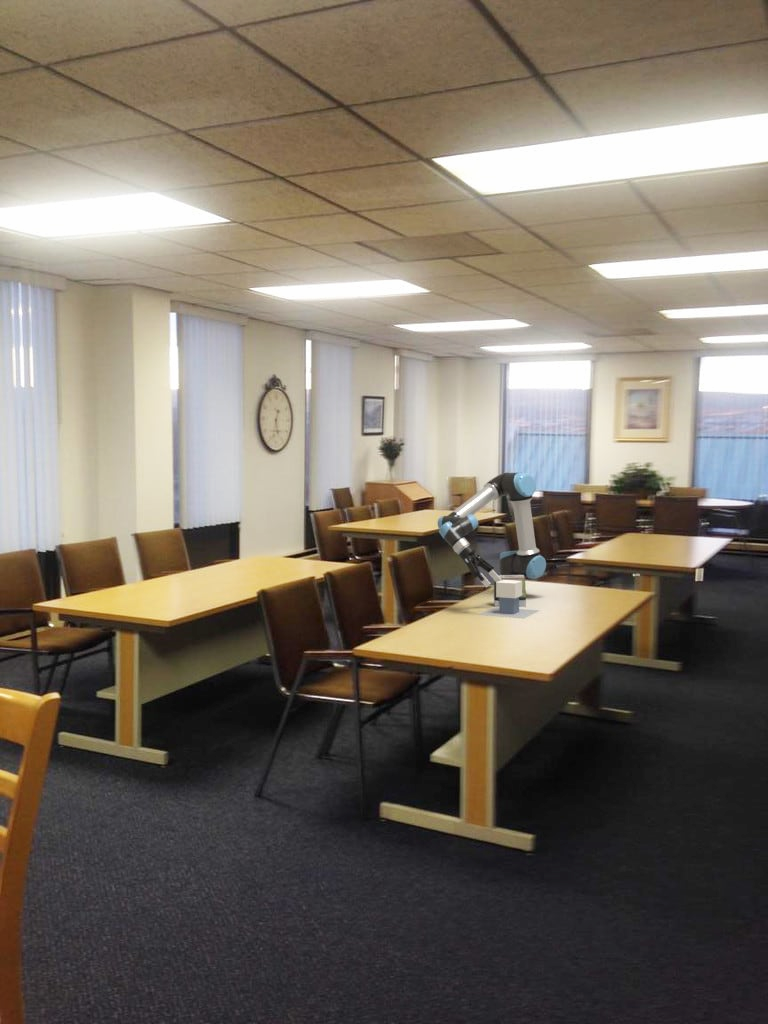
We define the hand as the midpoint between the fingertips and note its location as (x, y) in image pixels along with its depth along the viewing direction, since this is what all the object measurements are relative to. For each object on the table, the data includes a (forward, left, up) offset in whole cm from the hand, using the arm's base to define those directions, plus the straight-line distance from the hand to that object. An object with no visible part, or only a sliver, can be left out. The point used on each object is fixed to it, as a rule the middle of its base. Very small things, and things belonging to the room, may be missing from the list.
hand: (494, 583), depth 396 cm
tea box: (-20, 0, -14) cm, 24 cm away
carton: (-1, +7, -13) cm, 15 cm away
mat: (-1, +7, -14) cm, 15 cm away
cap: (-1, +7, -6) cm, 9 cm away
